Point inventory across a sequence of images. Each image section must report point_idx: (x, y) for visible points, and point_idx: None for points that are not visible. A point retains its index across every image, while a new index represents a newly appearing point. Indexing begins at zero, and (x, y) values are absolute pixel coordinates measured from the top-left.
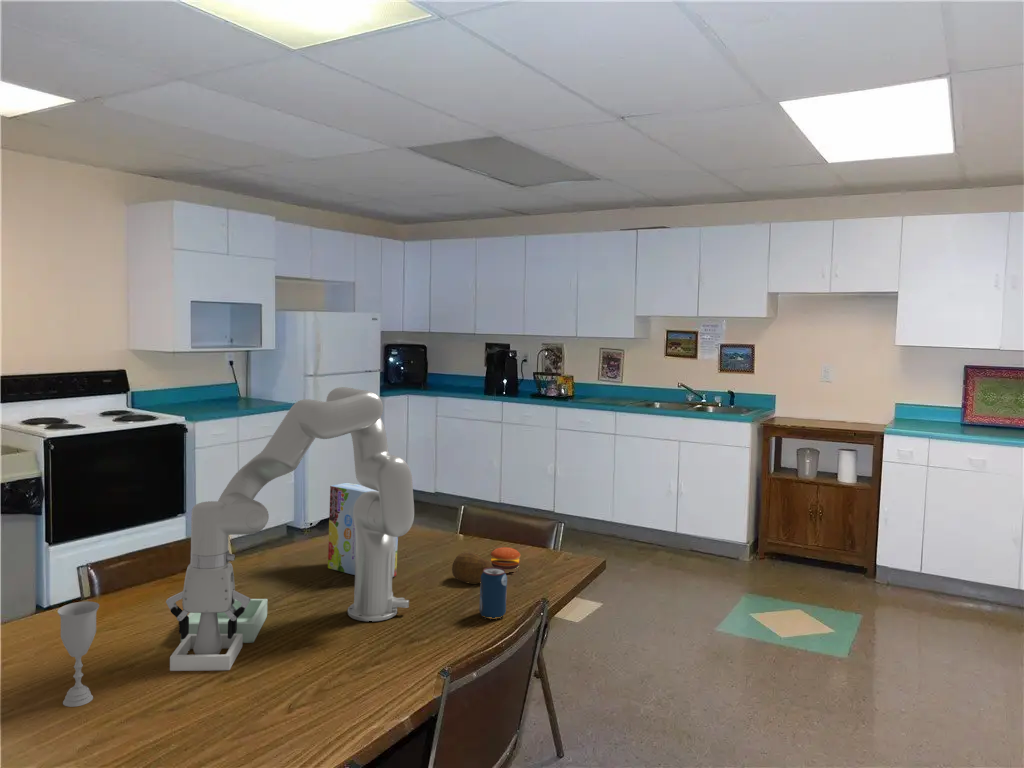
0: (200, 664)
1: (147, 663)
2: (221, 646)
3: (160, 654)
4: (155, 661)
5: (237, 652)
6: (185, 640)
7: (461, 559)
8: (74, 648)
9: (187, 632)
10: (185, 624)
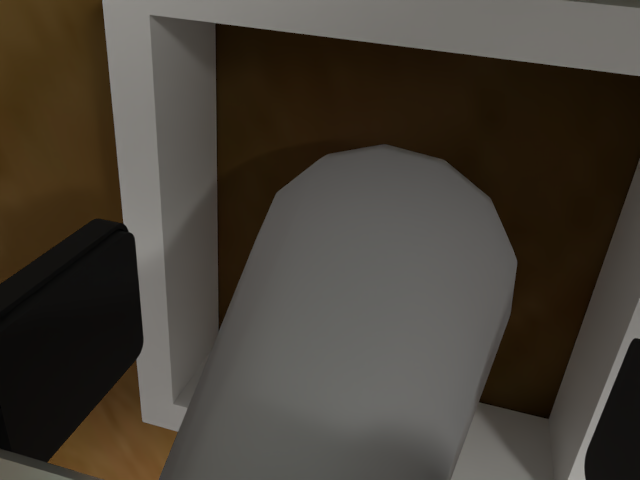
0: None
1: (21, 220)
2: (511, 305)
3: (32, 84)
4: (53, 200)
5: None
6: (141, 140)
7: None
8: None
9: (120, 283)
10: (48, 435)
